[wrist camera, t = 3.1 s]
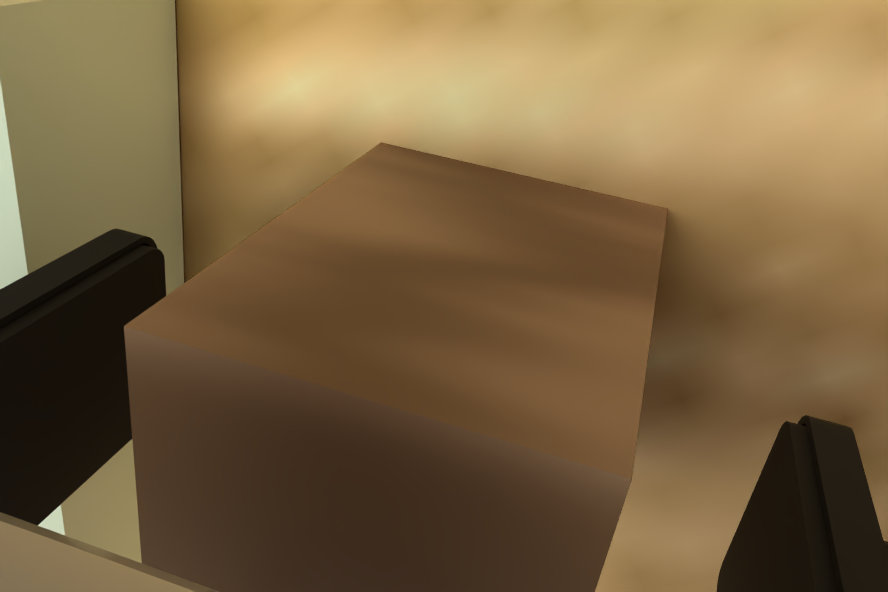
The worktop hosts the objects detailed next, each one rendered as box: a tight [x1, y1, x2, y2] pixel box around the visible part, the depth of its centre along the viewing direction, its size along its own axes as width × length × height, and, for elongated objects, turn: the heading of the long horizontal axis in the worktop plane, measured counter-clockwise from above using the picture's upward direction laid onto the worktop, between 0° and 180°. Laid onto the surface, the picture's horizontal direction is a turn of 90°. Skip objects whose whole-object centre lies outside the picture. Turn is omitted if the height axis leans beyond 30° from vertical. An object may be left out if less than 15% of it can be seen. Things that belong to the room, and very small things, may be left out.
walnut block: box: [124, 143, 668, 592], centre depth 11 cm, size 5×5×7 cm
